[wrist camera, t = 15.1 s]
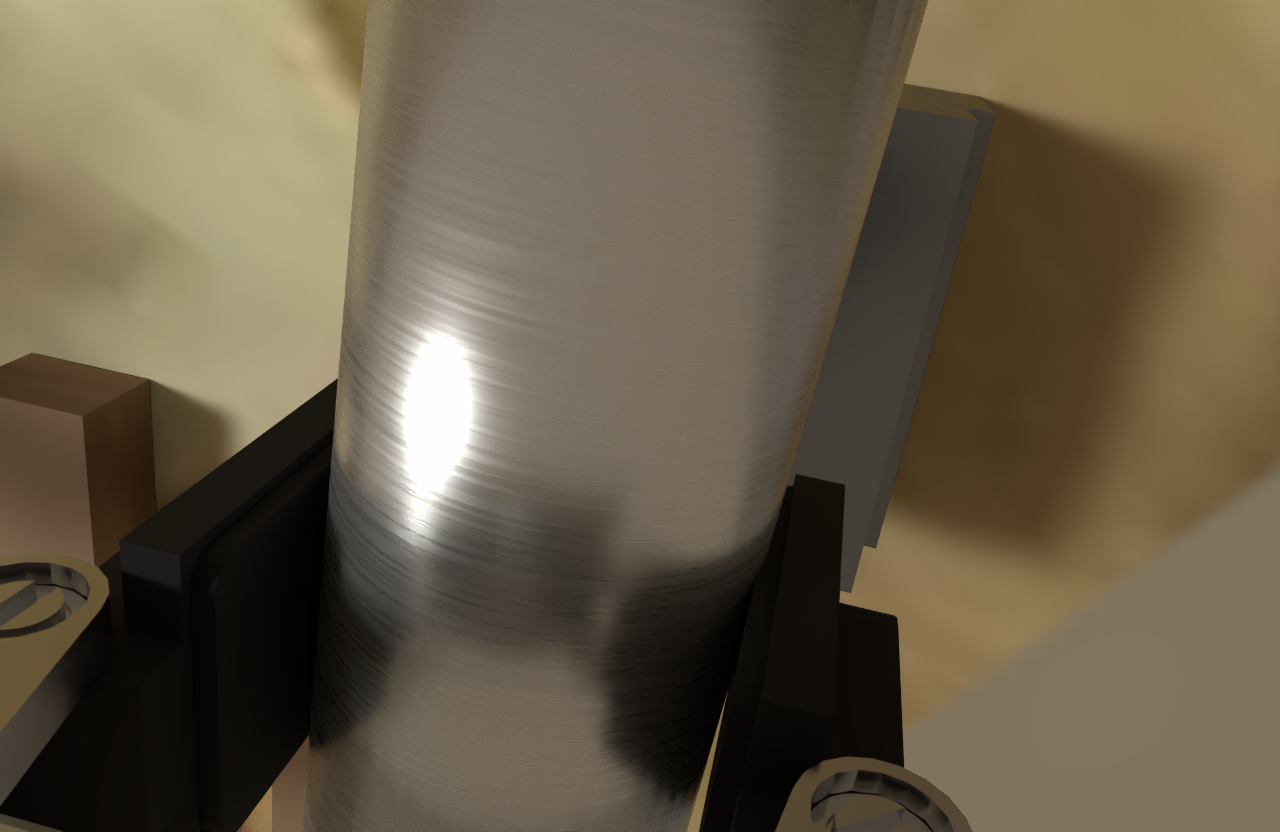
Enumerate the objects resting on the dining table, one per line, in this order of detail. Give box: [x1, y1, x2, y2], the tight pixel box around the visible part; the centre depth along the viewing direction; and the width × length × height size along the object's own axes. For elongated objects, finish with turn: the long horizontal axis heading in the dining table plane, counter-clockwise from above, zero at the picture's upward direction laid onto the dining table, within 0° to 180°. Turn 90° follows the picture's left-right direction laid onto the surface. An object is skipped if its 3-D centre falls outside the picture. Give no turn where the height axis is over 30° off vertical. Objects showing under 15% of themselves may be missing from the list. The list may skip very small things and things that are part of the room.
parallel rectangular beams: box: [0, 353, 309, 832], centre depth 30 cm, size 18×12×3 cm, turn 171°
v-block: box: [788, 84, 996, 593], centre depth 21 cm, size 9×9×5 cm
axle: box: [301, 0, 928, 832], centre depth 10 cm, size 10×4×4 cm
